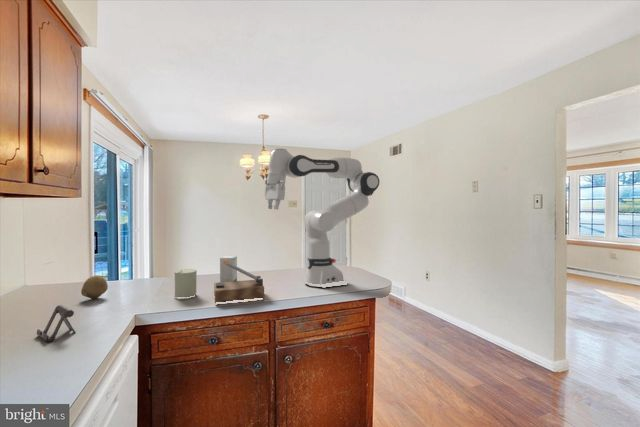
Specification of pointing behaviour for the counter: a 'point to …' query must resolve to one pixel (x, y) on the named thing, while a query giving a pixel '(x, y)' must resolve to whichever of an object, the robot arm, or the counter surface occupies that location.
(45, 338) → the portable electronic device stand
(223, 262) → the strap
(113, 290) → the counter surface
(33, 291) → the counter surface
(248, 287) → the latch base
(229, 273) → the skincare box
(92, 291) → the natural sponge
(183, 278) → the can
